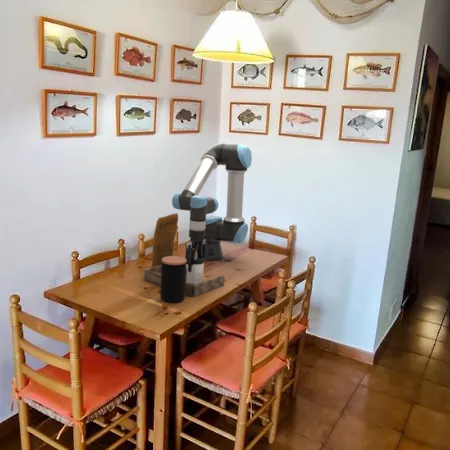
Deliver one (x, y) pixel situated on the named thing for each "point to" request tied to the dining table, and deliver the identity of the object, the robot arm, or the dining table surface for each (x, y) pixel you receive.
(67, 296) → the dining table surface
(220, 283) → the lane organizer
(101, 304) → the dining table surface
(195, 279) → the jar
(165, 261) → the coffee jar
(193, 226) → the robot arm
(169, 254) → the pancake mix bag
